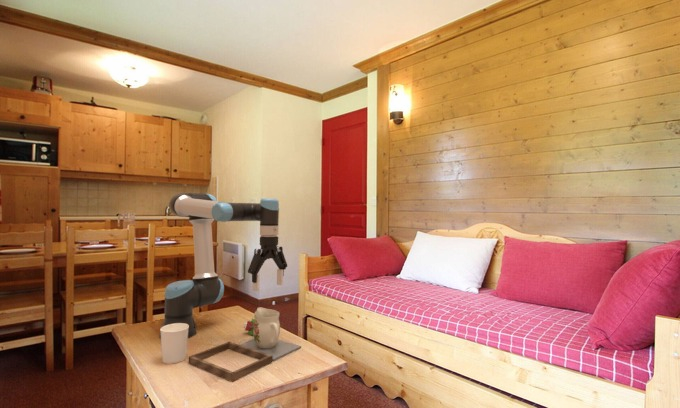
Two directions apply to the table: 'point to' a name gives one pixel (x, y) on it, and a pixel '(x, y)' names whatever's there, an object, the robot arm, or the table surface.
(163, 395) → the table surface
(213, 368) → the frame
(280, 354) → the slate board
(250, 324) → the geometric puzzle
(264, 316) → the pitcher
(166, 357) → the candle holder
